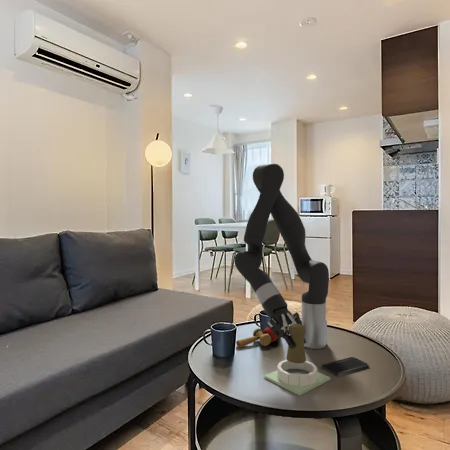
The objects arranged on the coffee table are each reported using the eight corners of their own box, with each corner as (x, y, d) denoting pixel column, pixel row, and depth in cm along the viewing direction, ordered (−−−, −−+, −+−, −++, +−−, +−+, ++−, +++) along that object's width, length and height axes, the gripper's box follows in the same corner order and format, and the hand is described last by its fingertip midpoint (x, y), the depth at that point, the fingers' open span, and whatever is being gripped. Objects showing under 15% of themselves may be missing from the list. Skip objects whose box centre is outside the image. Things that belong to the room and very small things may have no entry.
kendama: (244, 355, 133) (283, 340, 141) (241, 339, 134) (280, 325, 141) (235, 351, 140) (273, 338, 148) (232, 336, 140) (269, 323, 148)
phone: (370, 365, 119) (336, 374, 113) (370, 368, 119) (336, 377, 113) (352, 356, 126) (319, 364, 120) (352, 359, 126) (319, 367, 120)
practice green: (295, 364, 122) (295, 353, 121) (330, 379, 111) (330, 367, 111) (264, 378, 112) (264, 366, 112) (299, 395, 101) (299, 382, 101)
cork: (308, 363, 108) (309, 327, 108) (289, 363, 108) (290, 328, 107) (302, 355, 114) (303, 321, 114) (284, 355, 114) (285, 321, 113)
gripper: (261, 296, 112) (290, 345, 104) (291, 290, 121) (320, 334, 113) (250, 309, 117) (277, 357, 108) (279, 302, 126) (306, 346, 117)
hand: (298, 345), depth 110 cm, fingers closed on cork, 4 cm apart
